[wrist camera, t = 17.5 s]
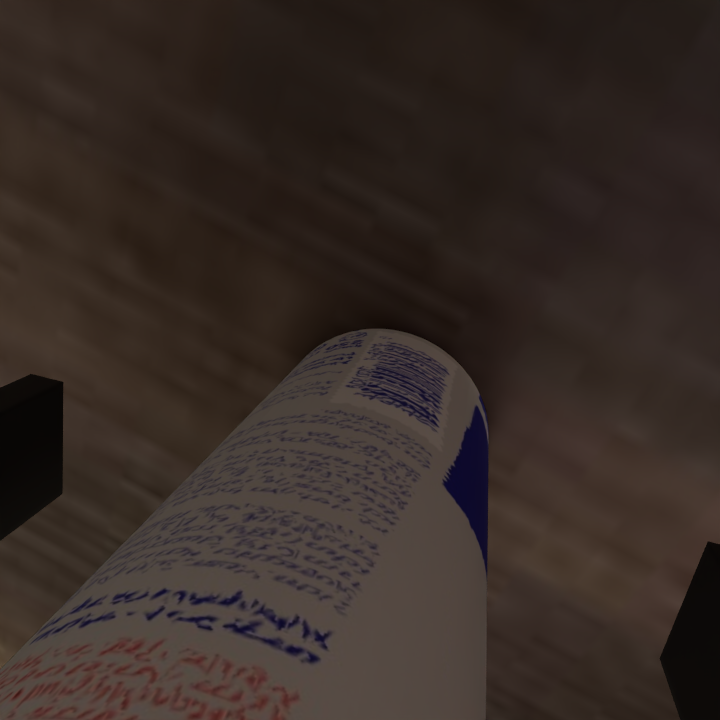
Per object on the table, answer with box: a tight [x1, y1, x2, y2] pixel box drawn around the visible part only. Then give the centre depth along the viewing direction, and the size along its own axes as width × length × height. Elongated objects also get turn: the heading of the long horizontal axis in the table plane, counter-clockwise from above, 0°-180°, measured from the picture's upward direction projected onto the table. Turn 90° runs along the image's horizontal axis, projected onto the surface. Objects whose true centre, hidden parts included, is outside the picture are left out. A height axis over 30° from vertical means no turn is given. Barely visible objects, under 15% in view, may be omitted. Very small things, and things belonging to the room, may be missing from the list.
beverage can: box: [0, 329, 489, 720], centre depth 10 cm, size 6×6×15 cm
